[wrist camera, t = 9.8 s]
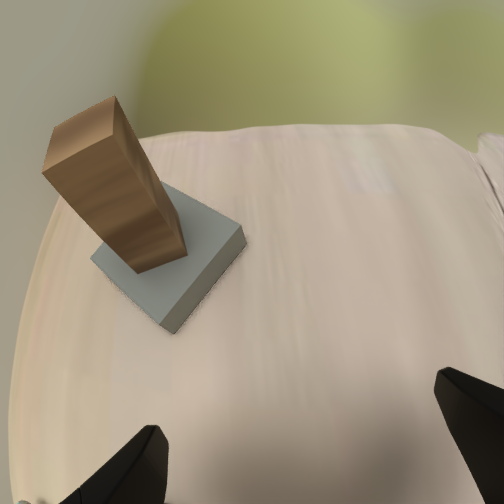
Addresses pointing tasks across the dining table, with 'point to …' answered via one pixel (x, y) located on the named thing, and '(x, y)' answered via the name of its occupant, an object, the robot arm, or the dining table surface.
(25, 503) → the perfume bottle
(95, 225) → the pillar
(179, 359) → the dining table surface
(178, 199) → the slate tile
